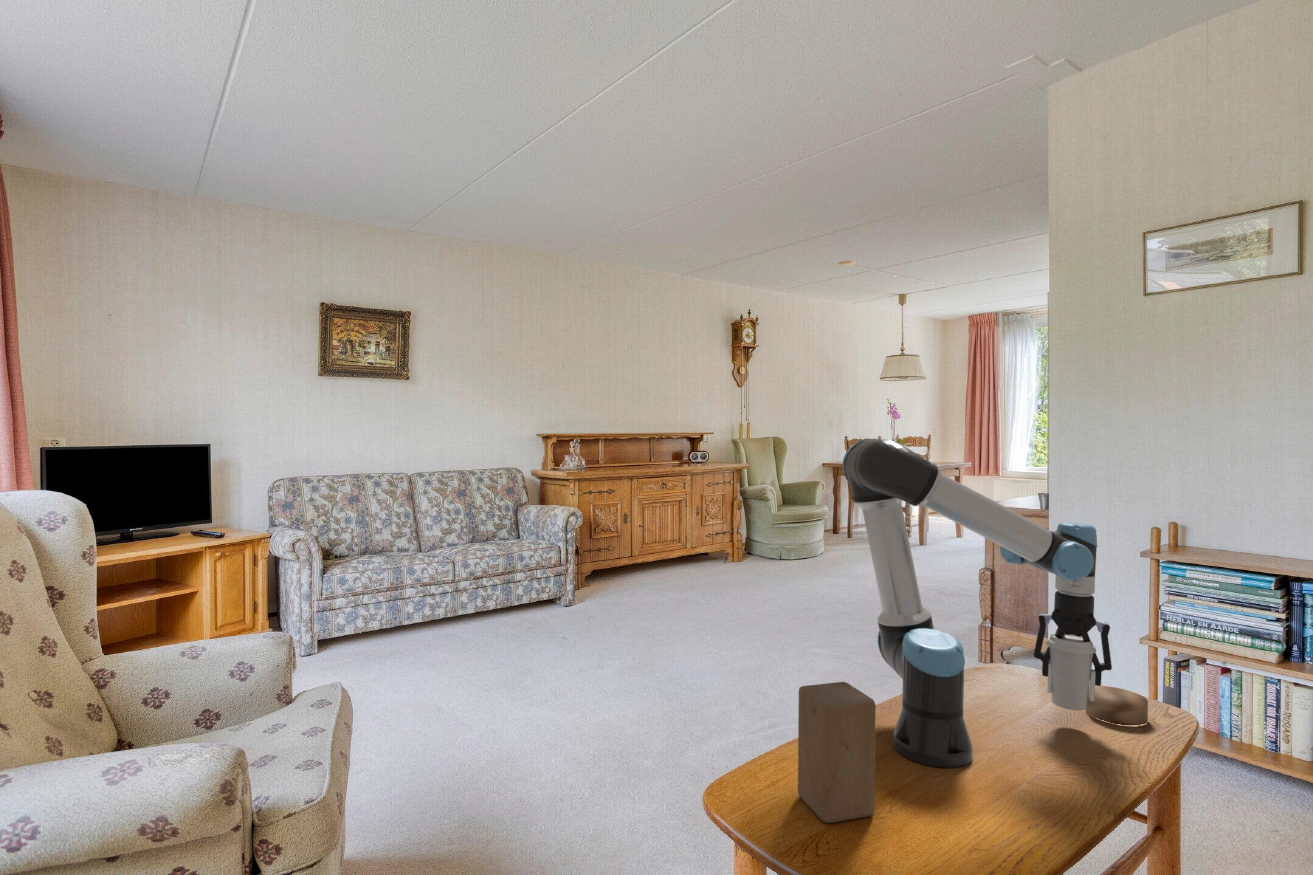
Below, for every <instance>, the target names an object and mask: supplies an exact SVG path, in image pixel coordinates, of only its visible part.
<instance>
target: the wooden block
mask: <svg viewBox="0 0 1313 875" xmlns="http://www.w3.org/2000/svg"><path fill="white" fill-rule="evenodd" d="M797 723H798V730H797V731H798V734H797V736H798V737H797V739H798V740H797V751H798V752H797V793H798V796H799V798H800V799H801V800H802V801H803V802H804V803H805V804H806V805H807V806H808V807H809V808H810V810H812V812H813V813H815V815H816V816H817V817H818V818H819V819H820V820H821V821H822V822H823V823H826V824H831V823H838V822H844V821H849V820H856V819H860V818H861V819H862V818H866V817H872V816H873V815H874V814H875V812H876V810H875V809H876V808H875V806H876V805H875V804H876V802H875V801H876V798H875V796H876V794H875V793H876V792H875V791H876V786H875V785H876V781H875V780H876V703H875V700H874V699H873V698H872V697H870V696H868V695H867V694H865V693H863V692H862V691H861V690H859V689H858V688H856V687H855V686H853V685H851V684H850V683H848V682H846V681H837V682H830V683H828V682H827V683H820V684H819V683H818V684H817V683H816V684H811V685H810V684H809V685H802V686H799V688H798V722H797Z"/></svg>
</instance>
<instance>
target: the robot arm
mask: <svg viewBox="0 0 1313 875" xmlns="http://www.w3.org/2000/svg"><path fill="white" fill-rule="evenodd" d="M842 458H843V460H842V463H841V464H842V472H843V474H844V478H845V479H846V481H847V482H848V483H849V485H850V490H851V496H852V501H853V503H854V504H855V505H857V506H858V507H860V509H861V510H862V514H863V518H864V519H863V520H864V524H865V529H866V535H867V540H868V544H869V550H870V553H871V554H870V555H871V560H872V565H873V569H874V576H875V579H876V584H877V589H878V590H877V591H878V594H879V599H880V600H879V601H880V603H881V604H880V605H881V608H882V610H881V613H880V614H879V615H878V616H877V624H878V629H879V630H878V634H877V647H878V650H879V652H880V653H879V654H881V657H882V659H883V660H884V661H885V663H887V665H888V666H889V667H890V668H891V669H892V670H893V671H895V673H896V674H897V675H898V676H899V677H900V678H901V680H902V699H901V700H902V704H901V705H902V706H901V708H902V709H901V711H900V713H899V716H898V719H897V721H896V725H895V728H894V730H893V735H892V738H893V739H892V744H893V748H894V749H895V751H896V752H897V753H898V754H900V755H901V756H902V757H904V758H906V759H908V760H910V761H913V762H916V763H919V764H922V765H926V766H930V767H937V768H958V767H959V768H960V767H963V766H966V765H968V764H970V763H971V762H972V760H973V749H974V748H973V743H972V740H971V738H970V735H969V732H968V731H969V730H968V729H967V725H966V722H965V719H964V701H965V700H964V695H965V694H964V692H965V691H964V690H965V689H964V688H965V665H966V659H965V655H964V653H965V652H964V647H963V644H962V643H961V641H960V640H959V639H958V638H956V637H955V636H954V635H952V634H949V633H947V632H946V633H945V632H943V631H942V630H937V629H935V628H934V622H933V619H932V614H931V612H930V611H929V610H927V609H926V608H924V607H923V604H922V600H921V595H920V591H919V590H920V589H919V584H918V580H917V574H916V569H915V564H914V560H913V554H912V550H911V543H910V541H909V540H910V539H909V535H908V530H907V525H906V520H905V519H906V518H905V514H904V509H903V505H902V502H906V503H907V504H909V505H911V506H913V507H919V506H923V507H925V508H927V509H929V510H932V511H933V512H935V513H936V514H939V515H941V516H943V517H944V518H946V519H949V520H950V521H952V522H954V523H956V524H959V526H962V527H964V528H966V529H968V530H969V531H972V532H973V533H974V534H977V535H979V536H980V537H983V538H985V539H987V540H989V541H990V542H992V543H995V544H996V545H998V546H999V550H1000V554H1001V557H1002V559H1003V560H1004V561H1005V562H1006V563H1008V564H1014V565H1019V566H1020V565H1029V566H1031V567H1033V568H1036V569H1039V570H1042V571H1045V572H1048V573H1050V574H1053V575H1055V580H1054V581H1055V583H1054V587H1055V590H1056V591H1055V592H1054V604H1053V605H1054V606H1053V607H1054V608H1053V611H1052V612H1051V613H1050V614H1049V613H1047V614H1046V613H1045V614H1044V613H1042V612H1040V613H1039V614H1038V623H1039V626H1038V630H1037V636H1036V642H1035V646H1034V651H1033V657H1034V658H1035V659H1038V660H1040V661H1041V663H1042V667H1041V674H1042V676H1043V677H1047V681H1046V682H1047V686H1046V693H1048V694H1052V692H1051V688H1052V670H1051V664H1050V647H1049V646H1048V645H1047V648H1046V649H1045V651H1044V653H1043V652H1042V648H1043V644H1044V638H1045V634H1046V628H1047V625H1049V624H1050V621H1053V622H1054V624H1055V625H1056V626H1057V628H1056V631H1055V632H1054V633H1055V637H1057V638H1060V639H1061V638H1062V637H1063V635H1064V633H1065V634H1067V635H1072V634H1073V635H1076V636H1082V637H1083V640H1084V642H1087V641H1088V642H1091V640H1092V639H1091V638H1090V635H1089V632H1090V631H1091V630H1092V629H1093V628H1094V627H1095V626H1096V628H1097V631H1098V632H1099V633H1100V640H1101V641H1100V643H1101V649H1102V658H1103V662H1100V660H1099V657H1098V655H1097V652H1095V653H1093V658H1092V665H1093V667H1092V668H1091V675H1090V682H1089V687H1090V692H1089V698H1090V701H1094V696H1095V686H1102V673H1103V672H1104V671H1112V670H1113V669H1112V668H1113V667H1112V666H1113V665H1112V659H1111V650H1110V644H1109V642H1110V641H1109V633H1110V630H1111V626H1110V624H1109V623H1108V622H1106V621H1104V622H1102V621H1100V620H1097V619H1096V618H1095V616H1094V615H1095V597H1094V596H1093V594H1095V592H1096V591H1095V590H1096V588H1095V587H1096V566H1097V548H1098V539H1097V538H1098V535H1097V529H1096V527H1095V526H1093V525H1092V524H1087V523H1083V522H1082V523H1081V522H1080V523H1079V522H1067V521H1066V522H1059V523H1058V525H1057V527H1056V531H1051V530H1050V529H1049V528H1047V527H1045V526H1042V525H1041V524H1039V523H1037V522H1035V521H1033V520H1031V519H1030V518H1028V517H1025V516H1023V515H1022V514H1020V513H1017V512H1016V511H1014V510H1012V509H1010V508H1008V507H1006V506H1004V505H1003V504H1000V503H998V502H997V501H995V500H993V499H991V498H989V497H988V496H985V495H984V494H981V493H979V492H978V491H976V490H974V489H972V488H970V487H968V486H966V485H965V484H963V483H960V482H958V481H956V480H955V479H953V478H951V477H949V476H947V475H946V474H943V473H941V470H940V467H939V465H937V464H935V463H933V462H931V461H929V460H928V459H926V458H924V457H923V456H921V455H919V454H918V453H917V452H914V451H913V450H911V449H910V448H908V447H906V446H905V445H903V444H901V443H899V442H897V441H894V440H892V439H880V438H879V439H878V438H865V439H862V440H860V441H857V442H855V443H854V444H852V445H851V446H850V447H849V448H848V449H847V450H846V451H845V454H844V456H843V457H842ZM1090 639H1091V640H1090Z"/></svg>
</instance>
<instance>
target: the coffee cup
mask: <svg viewBox="0 0 1313 875" xmlns="http://www.w3.org/2000/svg"><path fill="white" fill-rule="evenodd" d="M1055 633H1056V632H1052V633H1050V634H1049V637H1048V638H1047V640H1046V642H1045V644H1046V645H1047V647H1048V646H1049V647H1050V660H1049V661H1050V664H1051V670H1052V688H1051V703H1052V704H1053V705H1056V706H1057V707H1059V708H1062V709H1065V710H1071V711H1079V712H1080V711H1085V709H1086V705H1087V697H1088V690H1089V687H1090V675H1091V668H1093V666H1092V665H1093V662H1092V658H1093V653H1097V648H1096V646H1095V644H1093V640H1092V639H1091V638H1090V640H1091V642H1088V641H1087V642H1084V640H1083V637H1082V636H1076V635H1073V634H1072V635H1067V634H1065V633H1064V635H1063V637H1062V638H1061V639H1060V638H1057V637H1055Z"/></svg>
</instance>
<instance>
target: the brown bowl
mask: <svg viewBox="0 0 1313 875" xmlns="http://www.w3.org/2000/svg"><path fill="white" fill-rule="evenodd" d="M1089 692H1090V686H1089V690H1088V697H1087V705H1086V709H1085V710H1086V712H1087V713H1088V714H1090V715H1092V716H1093V717H1095V718H1098V719H1100V720H1104V721H1107V722H1110V723H1114V724H1121V725H1141V724H1145V723H1147V721H1149V720H1148V718H1149V715H1148V714H1149V712H1148V710H1149V701H1148V699H1147V698H1146V697H1145V696H1143V695H1141V694H1139V693H1137V692H1134V691H1132V690H1128V689H1125V688H1120V687H1113V686H1107V685H1100V686H1097V685H1095V696H1094V701H1090V698H1089ZM1085 710H1084V711H1085ZM1086 712H1085V713H1086ZM1087 713H1086V714H1087ZM1088 714H1087V715H1088ZM1147 724H1148V723H1147Z"/></svg>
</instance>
